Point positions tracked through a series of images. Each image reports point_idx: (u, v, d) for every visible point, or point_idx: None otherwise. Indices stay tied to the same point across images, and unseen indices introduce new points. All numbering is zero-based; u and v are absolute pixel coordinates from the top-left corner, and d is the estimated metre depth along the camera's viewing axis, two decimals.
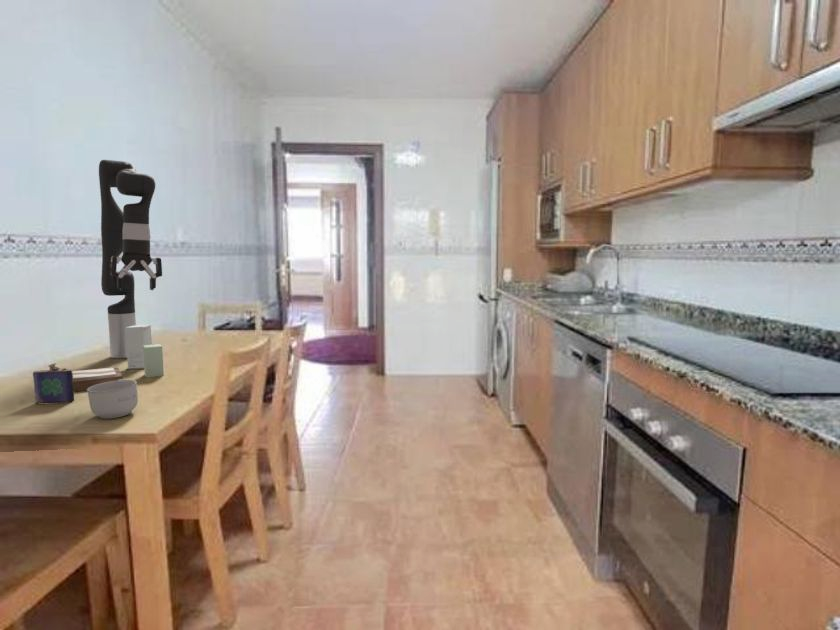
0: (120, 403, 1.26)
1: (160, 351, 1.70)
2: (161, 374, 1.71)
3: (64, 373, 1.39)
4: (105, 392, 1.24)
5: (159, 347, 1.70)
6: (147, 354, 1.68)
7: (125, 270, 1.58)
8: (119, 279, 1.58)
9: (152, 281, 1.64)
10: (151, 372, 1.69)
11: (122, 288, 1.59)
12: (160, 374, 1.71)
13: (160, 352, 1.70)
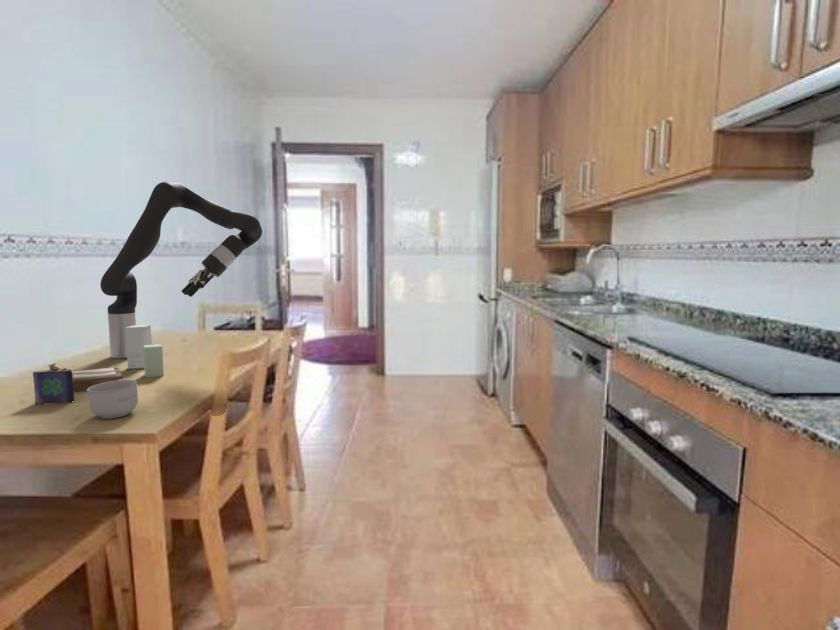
0: (120, 403, 1.26)
1: (160, 351, 1.70)
2: (161, 374, 1.71)
3: (64, 373, 1.39)
4: (105, 392, 1.24)
5: (159, 347, 1.70)
6: (147, 354, 1.68)
7: (204, 284, 1.77)
8: None
9: None
10: (151, 372, 1.69)
11: None
12: (160, 374, 1.71)
13: (160, 352, 1.70)
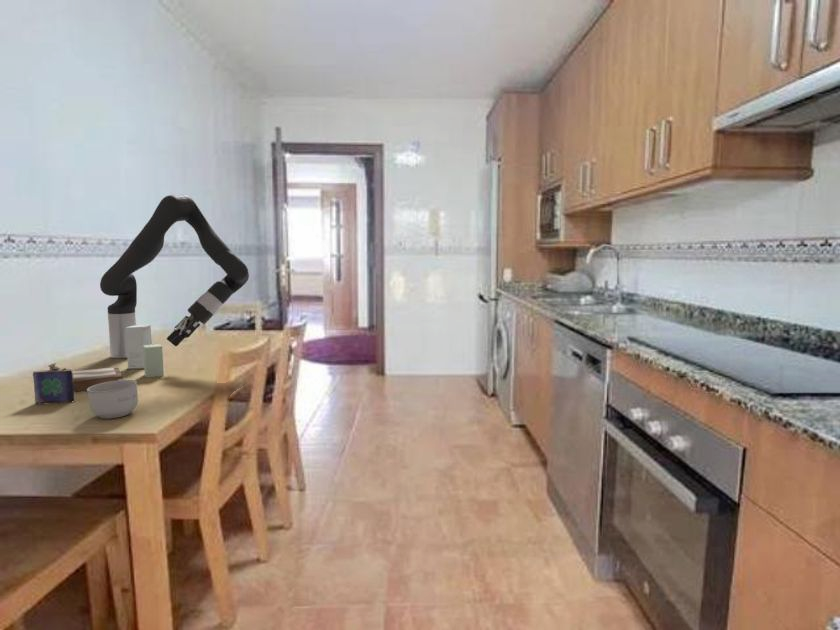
0: (120, 403, 1.26)
1: (160, 351, 1.70)
2: (161, 374, 1.71)
3: (64, 373, 1.39)
4: (105, 392, 1.24)
5: (159, 347, 1.70)
6: (147, 354, 1.68)
7: (190, 333, 1.74)
8: None
9: None
10: (151, 372, 1.69)
11: None
12: (160, 374, 1.71)
13: (160, 352, 1.70)
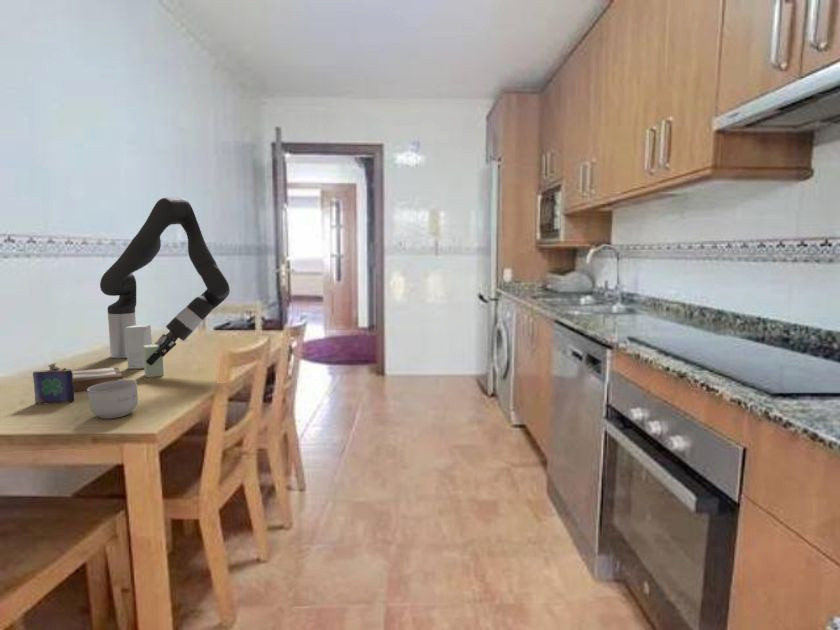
0: (120, 403, 1.26)
1: None
2: (161, 374, 1.71)
3: (64, 373, 1.39)
4: (105, 392, 1.24)
5: None
6: (147, 354, 1.68)
7: None
8: None
9: None
10: (151, 371, 1.69)
11: None
12: (160, 374, 1.71)
13: None
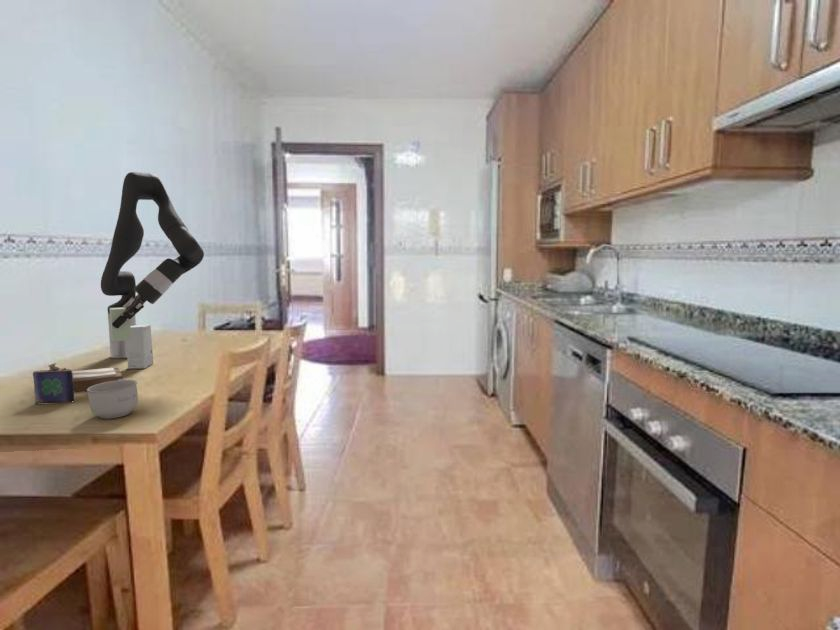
0: (120, 403, 1.26)
1: None
2: (128, 338, 1.63)
3: (64, 373, 1.39)
4: (105, 392, 1.24)
5: None
6: (113, 316, 1.60)
7: None
8: (124, 320, 1.61)
9: None
10: (118, 335, 1.61)
11: None
12: (127, 338, 1.63)
13: None
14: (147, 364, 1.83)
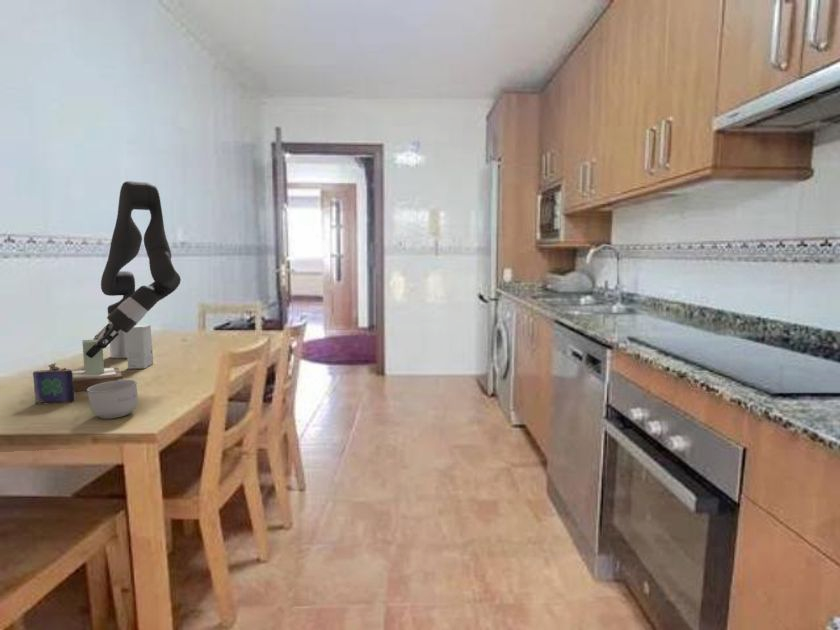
0: (120, 403, 1.26)
1: None
2: (101, 371, 1.58)
3: (64, 373, 1.39)
4: (105, 392, 1.24)
5: None
6: (85, 350, 1.55)
7: None
8: None
9: None
10: (90, 369, 1.57)
11: None
12: (100, 371, 1.58)
13: None
14: (147, 364, 1.83)
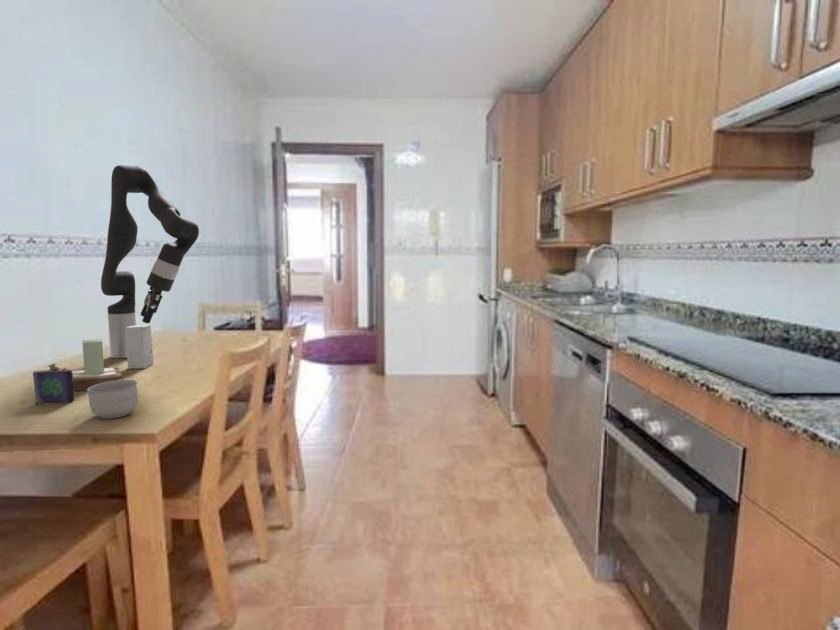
0: (120, 403, 1.26)
1: (100, 346, 1.57)
2: (101, 371, 1.58)
3: (64, 373, 1.39)
4: (105, 392, 1.24)
5: (99, 342, 1.57)
6: (85, 350, 1.55)
7: None
8: (151, 314, 1.67)
9: None
10: (90, 369, 1.57)
11: None
12: (100, 371, 1.58)
13: (100, 348, 1.57)
14: (147, 364, 1.83)
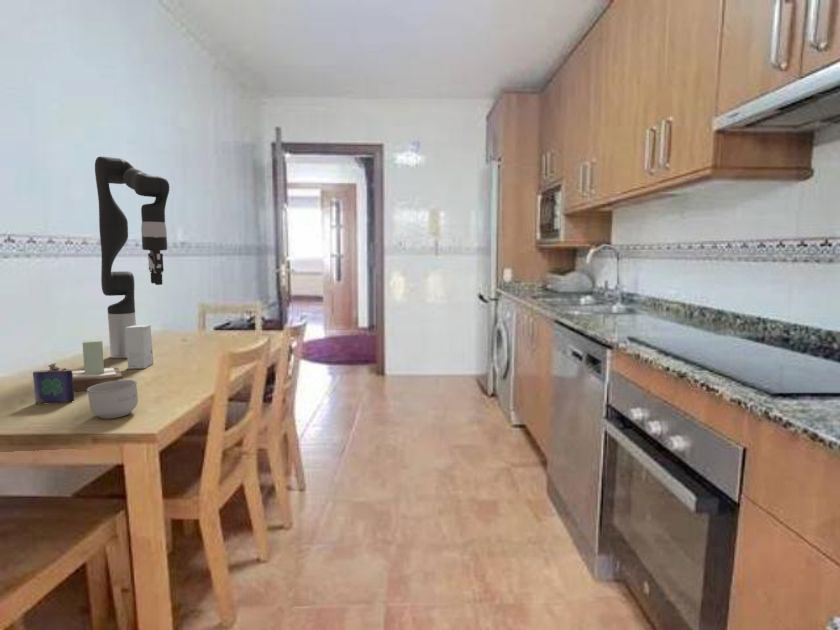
0: (120, 403, 1.26)
1: (100, 346, 1.57)
2: (101, 371, 1.58)
3: (64, 373, 1.39)
4: (105, 392, 1.24)
5: (99, 342, 1.57)
6: (85, 350, 1.55)
7: None
8: (160, 274, 1.71)
9: None
10: (90, 369, 1.57)
11: None
12: (100, 371, 1.58)
13: (100, 348, 1.57)
14: (147, 364, 1.83)
